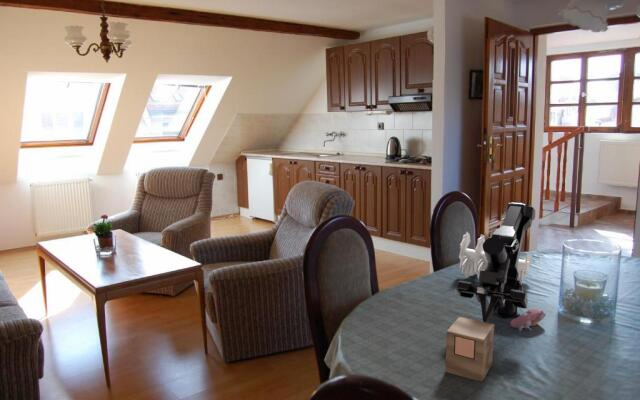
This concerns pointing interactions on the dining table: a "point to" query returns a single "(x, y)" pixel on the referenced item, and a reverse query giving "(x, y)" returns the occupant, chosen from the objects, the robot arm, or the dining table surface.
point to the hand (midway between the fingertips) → (484, 322)
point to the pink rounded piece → (528, 318)
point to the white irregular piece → (484, 259)
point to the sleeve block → (483, 349)
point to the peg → (465, 347)
